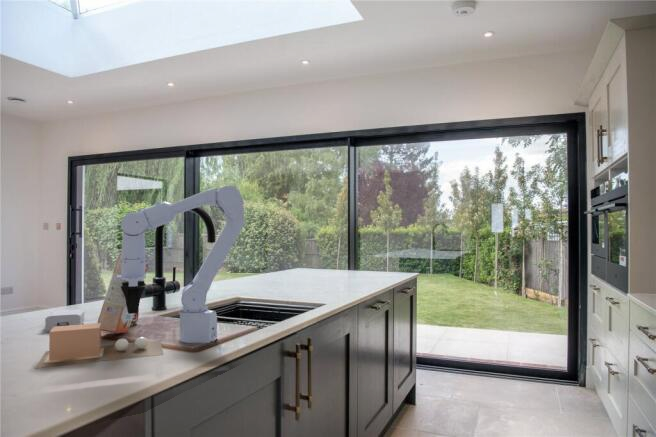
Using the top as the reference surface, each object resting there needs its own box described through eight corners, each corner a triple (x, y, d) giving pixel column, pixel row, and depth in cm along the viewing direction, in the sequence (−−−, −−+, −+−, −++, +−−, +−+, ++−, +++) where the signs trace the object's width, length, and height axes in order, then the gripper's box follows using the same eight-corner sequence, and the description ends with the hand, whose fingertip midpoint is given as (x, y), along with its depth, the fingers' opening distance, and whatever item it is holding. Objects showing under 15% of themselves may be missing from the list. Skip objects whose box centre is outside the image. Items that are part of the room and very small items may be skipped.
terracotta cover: (100, 349, 108) (101, 322, 108) (99, 355, 103) (99, 327, 103) (53, 354, 104) (53, 326, 104) (49, 360, 98) (49, 331, 99)
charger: (86, 319, 148) (80, 329, 134) (54, 321, 144) (45, 332, 130) (86, 305, 148) (80, 314, 134) (55, 307, 144) (45, 316, 130)
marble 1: (130, 349, 108) (130, 337, 108) (123, 353, 105) (124, 340, 105) (119, 349, 109) (119, 337, 109) (112, 352, 106) (112, 340, 106)
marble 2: (150, 347, 110) (150, 335, 110) (143, 351, 107) (143, 338, 107) (138, 347, 110) (138, 335, 110) (132, 350, 107) (132, 338, 107)
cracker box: (117, 333, 115) (140, 257, 121) (94, 330, 115) (117, 252, 120) (130, 333, 129) (149, 264, 135) (108, 330, 128) (129, 260, 134)
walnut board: (160, 344, 117) (160, 339, 117) (163, 358, 104) (163, 353, 104) (46, 355, 107) (46, 350, 107) (34, 373, 94) (34, 367, 94)
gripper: (117, 257, 120) (116, 307, 119) (115, 261, 106) (114, 317, 106) (145, 256, 122) (144, 305, 122) (146, 260, 109) (146, 315, 109)
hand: (132, 310), depth 114 cm, fingers open, 6 cm apart
